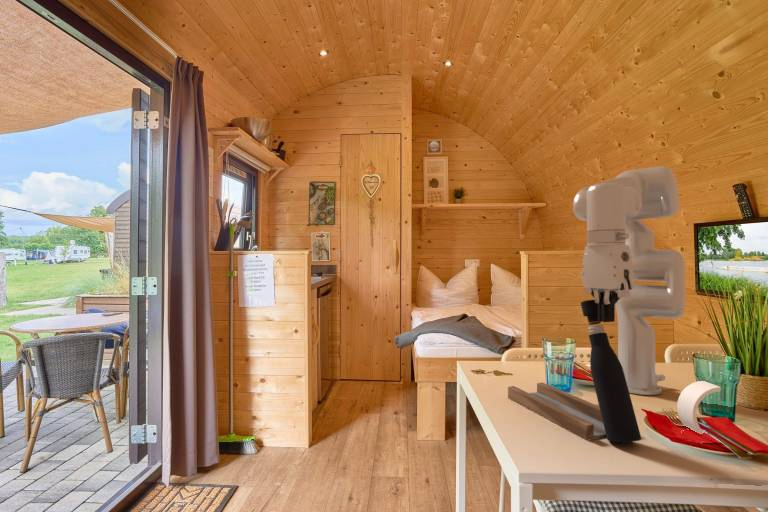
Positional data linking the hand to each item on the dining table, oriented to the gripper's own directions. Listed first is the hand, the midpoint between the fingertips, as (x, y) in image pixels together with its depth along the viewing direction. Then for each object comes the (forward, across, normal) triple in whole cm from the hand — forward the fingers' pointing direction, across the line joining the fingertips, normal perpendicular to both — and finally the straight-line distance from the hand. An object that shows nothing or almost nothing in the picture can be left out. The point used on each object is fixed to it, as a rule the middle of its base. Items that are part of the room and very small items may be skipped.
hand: (606, 321), depth 88 cm
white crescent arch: (+26, -8, -18) cm, 32 cm away
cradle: (+26, +13, 0) cm, 29 cm away
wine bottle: (+25, -4, 0) cm, 25 cm away
